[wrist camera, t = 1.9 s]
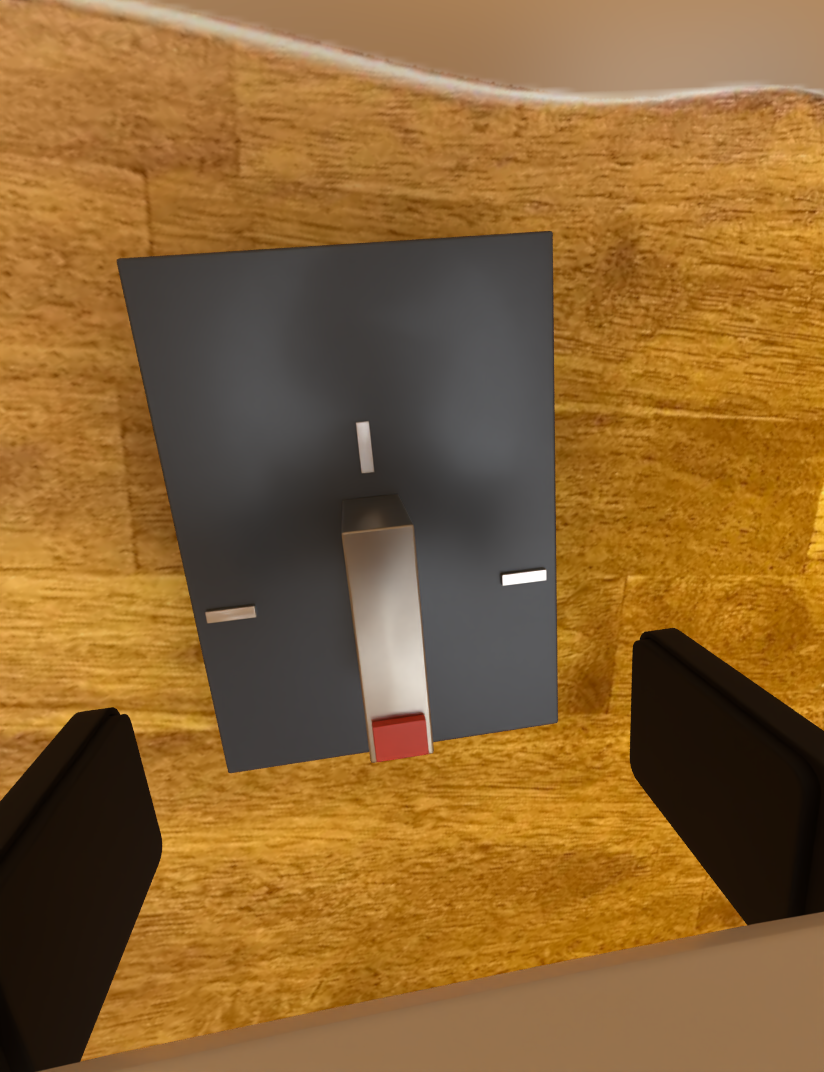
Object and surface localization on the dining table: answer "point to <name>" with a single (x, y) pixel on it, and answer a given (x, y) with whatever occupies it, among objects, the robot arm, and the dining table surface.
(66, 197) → the dining table surface
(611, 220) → the dining table surface
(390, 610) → the gray slab
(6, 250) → the dining table surface
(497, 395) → the rotary switch block
